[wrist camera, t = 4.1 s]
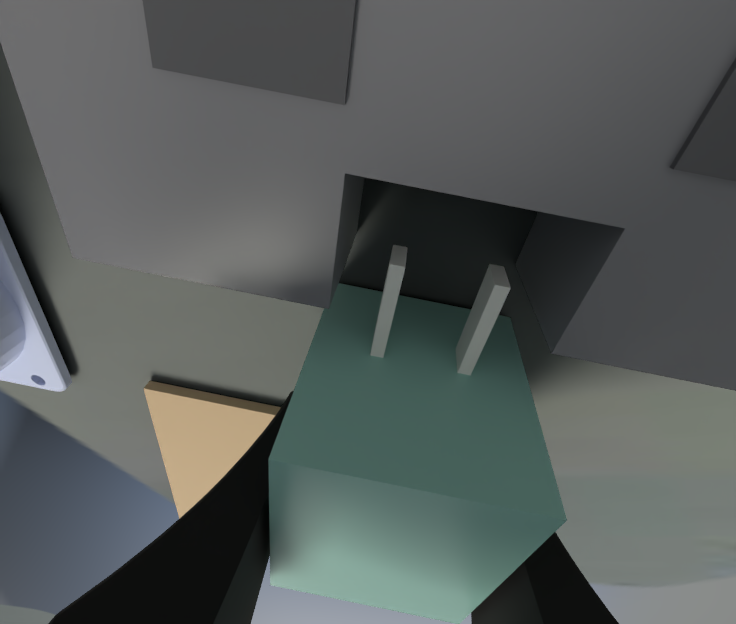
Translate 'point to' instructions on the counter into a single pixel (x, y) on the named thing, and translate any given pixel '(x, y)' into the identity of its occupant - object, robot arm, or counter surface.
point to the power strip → (404, 147)
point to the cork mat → (202, 436)
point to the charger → (410, 455)
